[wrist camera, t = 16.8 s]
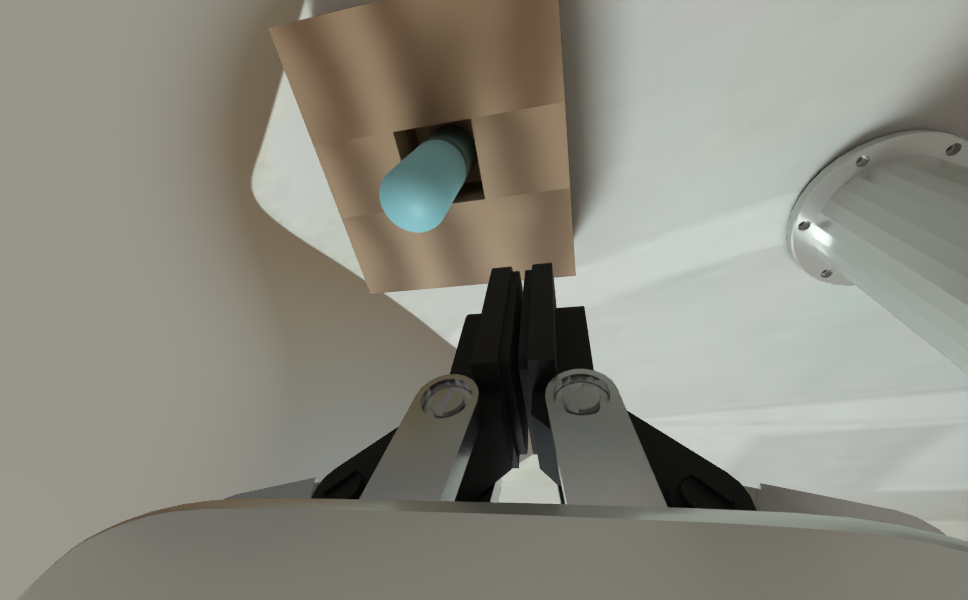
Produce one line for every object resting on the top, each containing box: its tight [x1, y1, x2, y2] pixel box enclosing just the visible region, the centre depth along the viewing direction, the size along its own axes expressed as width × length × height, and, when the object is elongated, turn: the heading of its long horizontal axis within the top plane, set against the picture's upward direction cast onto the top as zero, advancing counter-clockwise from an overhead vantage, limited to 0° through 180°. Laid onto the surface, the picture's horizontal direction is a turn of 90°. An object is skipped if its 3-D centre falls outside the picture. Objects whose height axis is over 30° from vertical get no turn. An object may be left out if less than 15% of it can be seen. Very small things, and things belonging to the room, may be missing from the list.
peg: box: [379, 125, 477, 233], centre depth 28 cm, size 4×4×12 cm
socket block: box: [269, 0, 576, 294], centre depth 31 cm, size 18×20×6 cm
